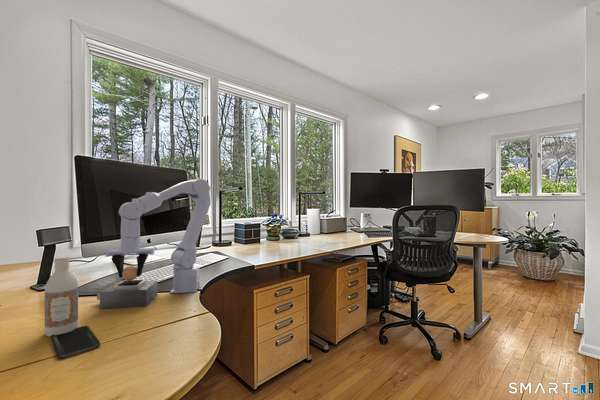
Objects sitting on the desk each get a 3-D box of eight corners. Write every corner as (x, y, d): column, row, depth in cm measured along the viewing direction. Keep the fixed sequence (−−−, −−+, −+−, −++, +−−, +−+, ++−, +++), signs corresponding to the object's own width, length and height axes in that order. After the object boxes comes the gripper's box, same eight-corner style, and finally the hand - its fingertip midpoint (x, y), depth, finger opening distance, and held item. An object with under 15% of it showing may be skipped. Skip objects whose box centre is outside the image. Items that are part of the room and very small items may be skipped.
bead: (142, 278, 100) (142, 264, 100) (130, 282, 95) (130, 268, 95) (130, 277, 101) (130, 263, 101) (118, 281, 96) (118, 267, 96)
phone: (58, 357, 62) (50, 334, 73) (58, 362, 62) (50, 339, 73) (101, 343, 68) (88, 324, 78) (101, 348, 68) (88, 328, 78)
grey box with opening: (157, 295, 104) (157, 277, 104) (146, 306, 94) (146, 286, 94) (106, 298, 102) (106, 279, 102) (89, 309, 91) (89, 289, 91)
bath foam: (42, 340, 71) (41, 261, 71) (47, 329, 77) (47, 256, 77) (76, 333, 75) (76, 257, 75) (79, 323, 81) (79, 253, 81)
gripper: (156, 234, 103) (156, 271, 104) (111, 236, 100) (111, 274, 100) (151, 237, 97) (151, 277, 97) (102, 238, 93) (102, 280, 93)
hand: (130, 276), depth 98 cm, fingers closed on bead, 5 cm apart
